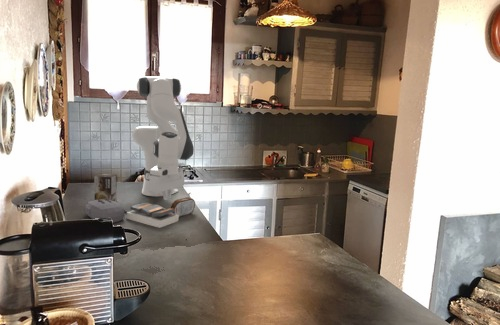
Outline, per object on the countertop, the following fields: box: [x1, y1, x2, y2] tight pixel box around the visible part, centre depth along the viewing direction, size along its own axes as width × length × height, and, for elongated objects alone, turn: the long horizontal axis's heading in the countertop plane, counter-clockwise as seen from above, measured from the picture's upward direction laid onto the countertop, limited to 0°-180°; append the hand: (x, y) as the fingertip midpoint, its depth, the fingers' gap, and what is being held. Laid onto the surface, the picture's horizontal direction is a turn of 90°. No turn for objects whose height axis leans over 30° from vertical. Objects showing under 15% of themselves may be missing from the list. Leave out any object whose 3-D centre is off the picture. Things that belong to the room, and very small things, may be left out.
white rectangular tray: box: [124, 209, 180, 229], centre depth 192 cm, size 13×28×3 cm, turn 61°
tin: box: [169, 196, 196, 218], centre depth 200 cm, size 15×3×8 cm, turn 145°
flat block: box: [152, 208, 175, 216], centre depth 186 cm, size 10×5×2 cm, turn 151°
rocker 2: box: [141, 203, 165, 215], centre depth 189 cm, size 10×5×2 cm, turn 151°
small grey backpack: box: [84, 198, 125, 223], centre depth 188 cm, size 15×8×20 cm
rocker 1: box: [130, 201, 154, 212], centre depth 192 cm, size 10×5×2 cm, turn 151°
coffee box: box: [93, 173, 118, 202], centre depth 205 cm, size 9×6×16 cm
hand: (167, 199), depth 184 cm, fingers closed
